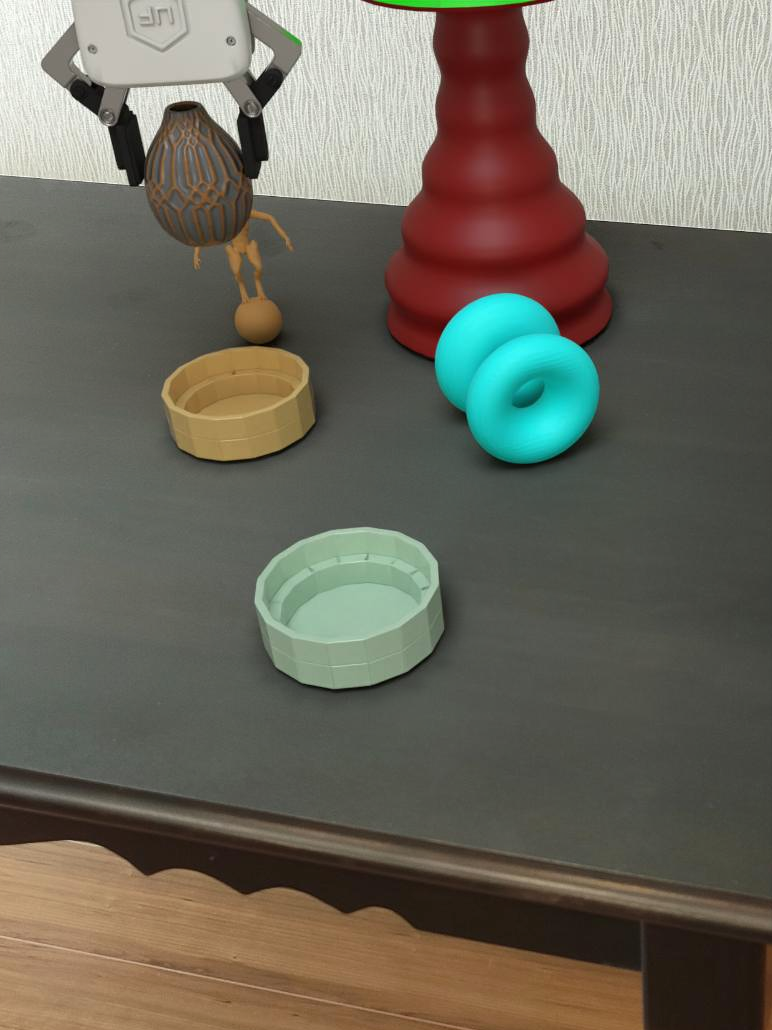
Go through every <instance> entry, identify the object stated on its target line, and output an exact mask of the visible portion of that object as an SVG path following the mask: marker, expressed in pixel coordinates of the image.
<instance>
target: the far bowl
mask: <svg viewBox="0 0 772 1030" xmlns="http://www.w3.org/2000/svg"><path fill="white" fill-rule="evenodd" d="M311 375H312V374H311V370H310V367H309V366H308V365H307V364H306V362H305V361H304V360H303V359H302V357H301V356H299V355H297V354H295V353H292V352H290V351H287V350H285V349H282V348H278V347H277V348H276V347H270V346H269V347H268V346H260V345H252V346H251V345H250V346H238V347H228V348H225V349H221V350H217V351H212V352H210V353H206V354H203V355H200V356H198V357H195V358H194V359H192V360H190V361H189V362H186V363H184V364H183V365H180V366H179V367H177V369H176V370H174V371H173V372H172V373H171V374H170V375H169V376H168V377H167V378H166V379H165V380H164V384H163V387H162V391H161V394H160V397H161V400H162V404H163V408H164V412H165V416H166V419H167V424H168V427H169V433H170V436H171V437H172V439H173V440H174V442H175V444H176V445H177V447H178V448H179V449H180V450H182V451H184V452H186V453H188V454H189V455H190V454H191V455H192V456H194V457H196V458H198V459H206V460H213V461H221V462H227V461H237V460H238V461H239V460H249V459H256V458H259V457H262V456H266V455H269V454H272V453H275V452H279V451H281V450H284V449H285V448H287V447H288V446H290V445H291V444H293V443H295V442H297V441H298V440H300V439H302V438H303V437H304V436H305V435H306V434H308V433H307V432H309V430H310V429H311V428H312V427H313V425H314V424H316V416H317V415H316V414H317V405H316V398H315V393H314V389H313V388H314V387H313V382H312V377H311Z"/></svg>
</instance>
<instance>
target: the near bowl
mask: <svg viewBox="0 0 772 1030" xmlns="http://www.w3.org/2000/svg"><path fill="white" fill-rule="evenodd" d="M440 577H441V576H440V567H439V562H438V560H437V559H436V557H435V556H434V555H433V554H432V553H431V551H430V550H429V549H428V548H427V546H426V545H425V544H424V543H422V541H421V542H420V541H418V540H416V539H415V538H413V537H410V536H408V535H406V534H404V533H402V532H400V531H397V530H391V529H386V528H385V529H384V528H376V527H372V526H360V527H349V528H338V529H330V530H327V531H325V532H321V533H318V534H315V535H312V536H310V537H306V538H303V539H300V540H298V541H297V542H295V543H294V544H292V545H290V546H289V547H288V548H286V549H284V550H283V551H281V552H279V553H278V554H277V555H275V556H274V557H273V558H272V559H271V560H270V561H269V562H268V564H267V565H266V567H265V568H264V569H263V571H262V572H261V573H260V574H259V576H258V577H257V578H256V585H255V586H256V587H255V593H254V598H253V599H254V600H253V603H254V608H255V612H256V616H257V621H258V624H259V628H260V634H261V639H262V642H263V646H264V648H265V650H266V652H267V654H268V656H269V658H270V660H271V662H272V663H273V666H274V667H275V668H276V669H278V670H279V671H281V672H282V673H284V674H286V675H287V676H289V677H291V678H292V679H294V680H296V681H297V682H299V683H301V684H305V685H311V686H315V687H321V688H326V689H331V690H339V689H340V690H341V689H349V688H359V687H360V688H361V687H370V686H374V685H377V684H379V683H381V682H385V681H387V680H389V679H392V678H394V677H398V676H401V675H404V674H405V673H407V672H409V671H410V670H411V669H413V668H414V667H416V666H417V665H418V664H419V663H420V662H422V661H423V660H424V659H426V658H427V657H428V656H429V655H430V654H432V653H433V651H434V649H435V647H436V645H437V644H438V642H439V640H440V639H441V636H442V634H443V633H444V631H445V617H444V602H443V595H442V586H441V578H440Z"/></svg>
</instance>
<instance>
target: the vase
mask: <svg viewBox="0 0 772 1030" xmlns="http://www.w3.org/2000/svg"><path fill="white" fill-rule="evenodd" d="M145 156H146V159H145V166H144V180H143V183H144V190H145V194H146V198H147V202H148V204H149V208H150V210H151V212H152V214H153V216H154V218H155V219H156V221H157V223H158V224H159V225H160V227H161V228H162V229H163V231H165V232H166V233H167V234H168V235H169V236H170V237H171V238H173V239H174V240H176V241H177V242H179V243H181V244H182V245H184V246H187V247H193V248H195V247H201V248H210V247H216V246H220V245H224V244H226V243H230V242H232V241H231V240H233V239H234V238H236V237H237V236H238V234H239V233H240V232H241V231H242V229H243V228H244V227H245V225H246V223H247V221H248V219H249V217H250V214H251V210H252V209H253V203H254V187H253V186H254V185H253V179H249V177H246V174H245V168H244V162H243V157H242V151H241V146H239V144H238V142H237V141H236V140H235V139H234V137H232V136H231V134H229V132H227V130H225V129H224V128H223V127H222V126H221V125H220V124H219V123H218V122H216V121H215V120H214V118H213V117H212V116H211V115H210V114H209V113H208V111H207V110H206V108H205V106H204V104H203V103H202V102H200V101H196V100H182V101H176V102H173V103H170V104H168V105H167V106H165V108H164V111H163V116H162V119H161V123H160V125H159V128H157V131H156V133H155V135H154V137H153V139H152V141H151V143H150V145H149V147H148V149H147V152H146V154H145Z"/></svg>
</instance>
